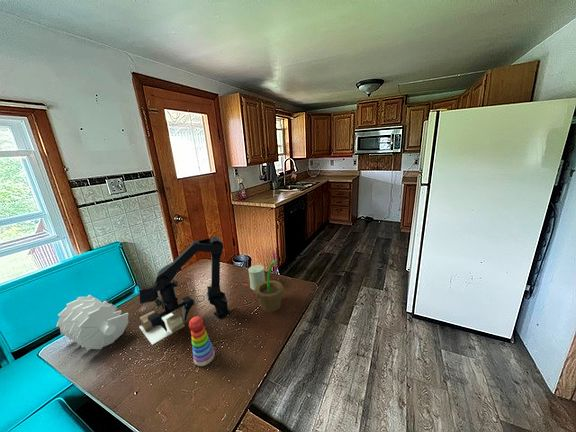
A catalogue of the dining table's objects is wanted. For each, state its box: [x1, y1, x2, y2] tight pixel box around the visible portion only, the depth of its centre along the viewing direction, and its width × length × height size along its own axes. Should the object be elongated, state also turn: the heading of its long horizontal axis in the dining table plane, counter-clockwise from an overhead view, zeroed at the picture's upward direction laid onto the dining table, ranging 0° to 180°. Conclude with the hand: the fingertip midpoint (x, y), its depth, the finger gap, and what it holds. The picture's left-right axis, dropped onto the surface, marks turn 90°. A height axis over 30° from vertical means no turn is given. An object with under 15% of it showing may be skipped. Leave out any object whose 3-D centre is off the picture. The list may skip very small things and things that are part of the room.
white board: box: [138, 312, 185, 346], centre depth 108 cm, size 17×14×1 cm
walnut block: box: [139, 310, 157, 332], centre depth 108 cm, size 6×6×5 cm
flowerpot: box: [254, 250, 284, 313], centre depth 113 cm, size 14×14×30 cm
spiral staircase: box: [55, 294, 130, 351], centre depth 101 cm, size 18×18×25 cm
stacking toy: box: [188, 315, 216, 367], centre depth 87 cm, size 8×8×19 cm
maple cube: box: [166, 313, 185, 334], centre depth 105 cm, size 5×5×5 cm
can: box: [248, 264, 266, 291], centre depth 134 cm, size 9×9×12 cm
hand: (175, 325), depth 106 cm, fingers open, 8 cm apart
